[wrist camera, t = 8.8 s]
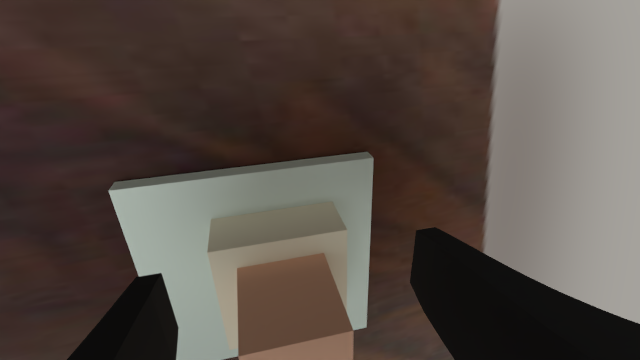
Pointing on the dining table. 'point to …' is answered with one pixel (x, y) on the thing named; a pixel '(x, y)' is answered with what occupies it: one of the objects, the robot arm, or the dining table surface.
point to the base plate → (234, 191)
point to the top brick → (292, 312)
